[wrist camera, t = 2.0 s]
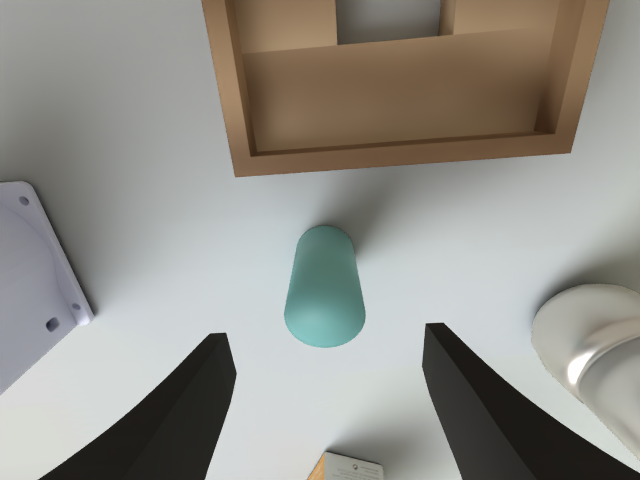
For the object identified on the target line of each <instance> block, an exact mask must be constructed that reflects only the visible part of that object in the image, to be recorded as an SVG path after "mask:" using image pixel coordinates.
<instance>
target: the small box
mask: <svg viewBox="0 0 640 480" xmlns="http://www.w3.org/2000/svg"><path fill="white" fill-rule="evenodd" d="M307 480H384V473H383V468H382V466H381V465H379V464H374V463H370V462H366V461H362V460H358V459H354V458H350V457H345V456H342V455H337V454H333V453H329V452H324V453H323V455H322V457H321V459H320V461H319V462H318V464H317V466H316V467H315V469H314V470H313V472H312V473H311V475H310V476H309V478H308V479H307Z"/></svg>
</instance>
